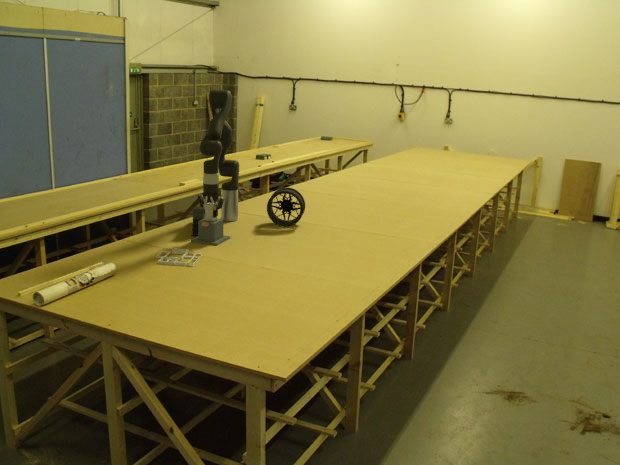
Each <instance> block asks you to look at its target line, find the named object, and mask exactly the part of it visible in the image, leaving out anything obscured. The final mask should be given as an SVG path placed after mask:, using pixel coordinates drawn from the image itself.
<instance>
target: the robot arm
mask: <svg viewBox="0 0 620 465" xmlns="http://www.w3.org/2000/svg"><path fill="white" fill-rule="evenodd" d="M232 102H233V95H232V93H231V91H230V90H227V89H211V90H210V91H209V92H208V103H209V104H208V105H209V108H210V113H211V117H212V118H211V120H210V121H209V123H208V126H207V131H206V134H204V137H203V138H202V139H201V141H200V144H199V152H200V154H202V155H203V156H211V157H212V156H213V158H212V159H206V160H204V161H203V177H202V191H203V192H202V193H201V194H198V195H197V200H198V203H199V206H200V207H199V208H204V215H205V204H208V203H212V205H213V206H214V217H215V218H216V217H217V218H218V215H219V210H221V211H220V212H221V213H220V214H221V215H220V219H223V222H225V221H226V222H235V221H237V220H238V219H239V183H240V182H239V178H240V176H239V175H240V163H239V161H238V160H234V159H226V154H227V152H228V151H229V149H230V147H231V146H232V143H233V142H234V138H233V136H234V135H233V129H232V127H231V125H230V124H229V123H228V121H227V120H226V119H227V117H228V116H229V115H228V114H229V112H230V110H231V107H232ZM219 175H220V176H219ZM219 177H226V178H231V180H229V181H225V182H223V183H221V192H220V193H221V194H219V191H220V190H219V189H220V185H219V184H220V178H219ZM220 195H221V196H220Z"/></svg>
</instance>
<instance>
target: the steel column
mask: <svg viewBox="0 0 620 465" xmlns="http://www.w3.org/2000/svg"><path fill="white" fill-rule="evenodd" d="M217 219H218V216H217V217H216V218H215V217H214V206H213V205H212V203H208V204H205V221H208V222H214V221H217Z"/></svg>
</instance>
